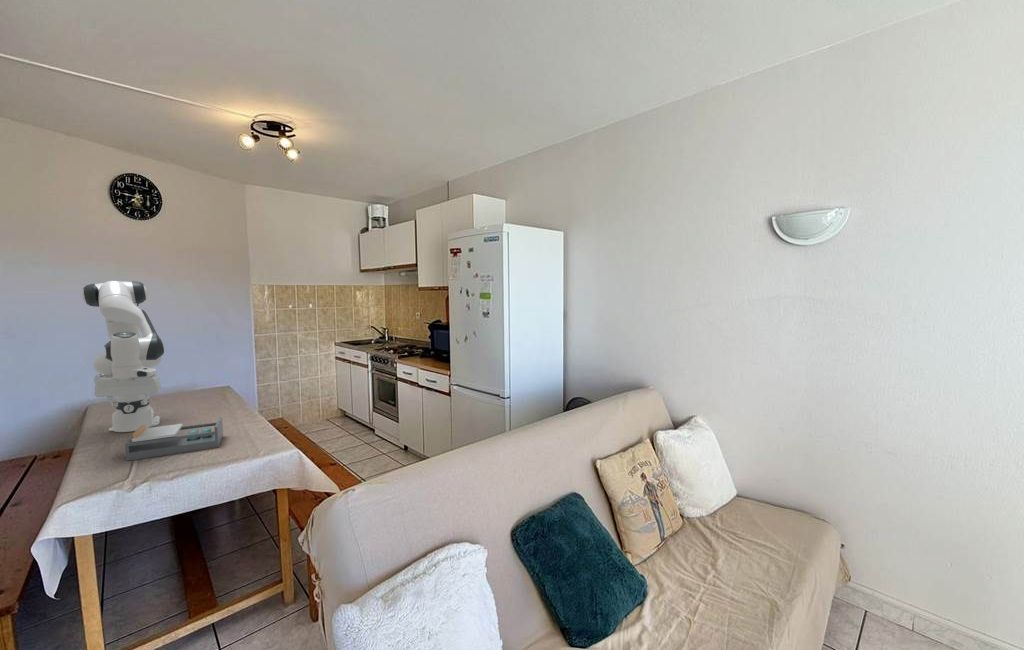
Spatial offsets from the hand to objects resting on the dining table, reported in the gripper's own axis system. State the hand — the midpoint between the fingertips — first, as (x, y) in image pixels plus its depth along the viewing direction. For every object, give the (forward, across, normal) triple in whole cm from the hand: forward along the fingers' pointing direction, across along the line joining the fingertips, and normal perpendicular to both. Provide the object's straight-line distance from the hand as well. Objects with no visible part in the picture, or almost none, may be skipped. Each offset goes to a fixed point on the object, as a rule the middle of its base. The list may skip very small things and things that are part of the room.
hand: (129, 405), depth 168 cm
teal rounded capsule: (+20, +20, +2) cm, 29 cm away
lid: (+13, +9, +1) cm, 16 cm away
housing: (+20, +15, +2) cm, 25 cm away
